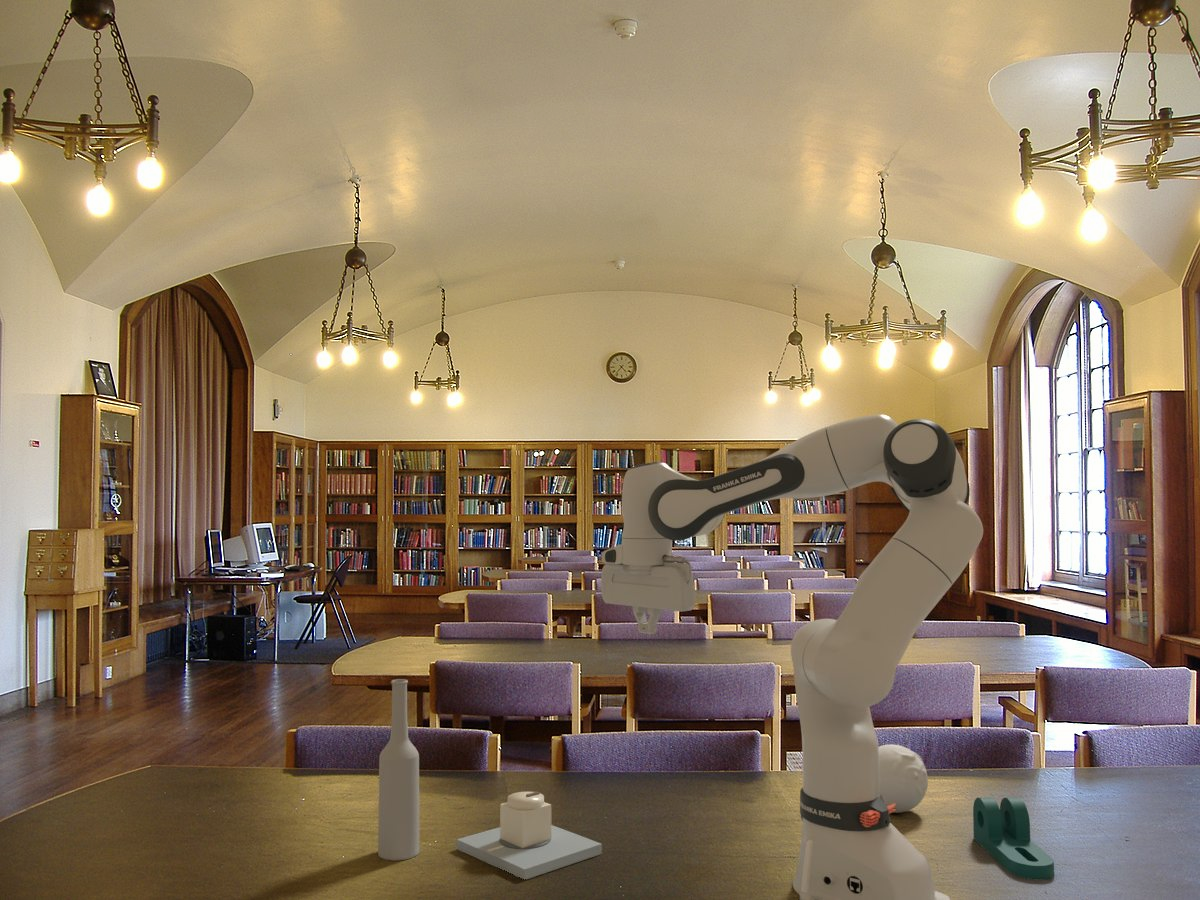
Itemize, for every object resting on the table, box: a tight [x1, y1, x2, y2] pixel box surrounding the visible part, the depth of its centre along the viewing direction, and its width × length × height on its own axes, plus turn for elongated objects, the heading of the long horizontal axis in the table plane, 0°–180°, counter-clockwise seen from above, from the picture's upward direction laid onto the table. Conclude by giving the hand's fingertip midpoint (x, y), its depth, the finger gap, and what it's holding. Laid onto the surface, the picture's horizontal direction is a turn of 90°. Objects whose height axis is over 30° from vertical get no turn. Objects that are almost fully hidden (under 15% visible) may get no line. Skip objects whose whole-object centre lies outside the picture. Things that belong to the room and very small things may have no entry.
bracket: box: [972, 797, 1055, 880], centre depth 159 cm, size 18×7×8 cm, turn 179°
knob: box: [499, 791, 552, 848], centre depth 164 cm, size 6×6×7 cm
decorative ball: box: [878, 743, 929, 814], centre depth 183 cm, size 12×12×12 cm
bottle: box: [377, 678, 420, 862], centre depth 163 cm, size 7×7×28 cm
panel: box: [456, 824, 603, 881], centre depth 163 cm, size 18×16×7 cm
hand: (647, 633), depth 175 cm, fingers closed
